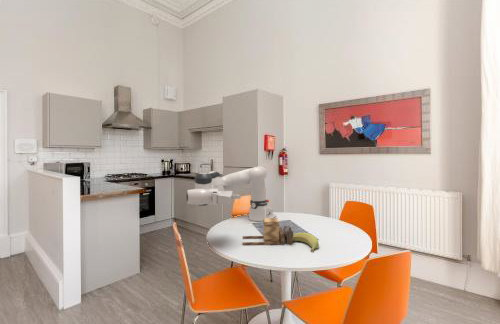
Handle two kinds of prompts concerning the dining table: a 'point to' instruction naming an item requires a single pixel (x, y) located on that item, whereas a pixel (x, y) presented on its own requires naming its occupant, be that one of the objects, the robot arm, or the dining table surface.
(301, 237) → the banana
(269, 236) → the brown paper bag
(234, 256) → the dining table surface
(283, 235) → the wooden rack
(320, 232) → the dining table surface
